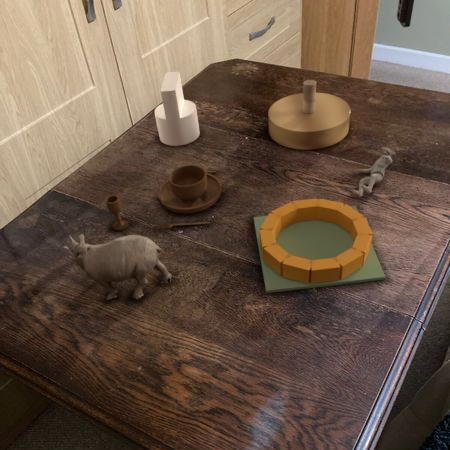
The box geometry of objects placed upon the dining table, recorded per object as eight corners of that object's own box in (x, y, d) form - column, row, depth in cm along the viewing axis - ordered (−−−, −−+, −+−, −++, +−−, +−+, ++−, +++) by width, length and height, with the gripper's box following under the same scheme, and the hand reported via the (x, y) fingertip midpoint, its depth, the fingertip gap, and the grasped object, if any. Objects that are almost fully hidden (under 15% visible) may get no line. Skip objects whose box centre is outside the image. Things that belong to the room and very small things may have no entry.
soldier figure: (339, 196, 91) (360, 146, 94) (358, 211, 92) (377, 161, 96) (369, 182, 84) (390, 129, 88) (389, 199, 85) (408, 146, 89)
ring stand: (338, 105, 112) (342, 60, 105) (357, 144, 100) (362, 96, 93) (264, 114, 112) (262, 70, 105) (274, 154, 101) (273, 107, 93)
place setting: (222, 224, 87) (218, 197, 82) (111, 233, 88) (102, 206, 84) (222, 169, 99) (219, 142, 94) (124, 177, 100) (116, 152, 96)
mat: (355, 207, 86) (355, 205, 86) (385, 279, 74) (385, 277, 74) (253, 219, 87) (253, 217, 86) (266, 293, 75) (266, 290, 74)
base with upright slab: (162, 126, 113) (151, 73, 104) (201, 123, 112) (193, 70, 103) (157, 147, 107) (145, 92, 98) (198, 144, 106) (190, 89, 97)
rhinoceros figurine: (172, 300, 72) (97, 225, 66) (115, 328, 80) (43, 264, 74) (188, 267, 78) (120, 195, 71) (133, 297, 85) (68, 234, 79)
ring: (353, 206, 86) (355, 193, 84) (382, 275, 74) (384, 262, 72) (255, 218, 86) (254, 205, 84) (268, 288, 74) (267, 275, 72)
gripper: (414, -121, 53) (392, 38, 65) (547, -139, 53) (499, 24, 65) (394, -130, 59) (376, 18, 70) (514, -147, 58) (476, 6, 70)
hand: (435, 21), depth 68 cm, fingers open, 8 cm apart
